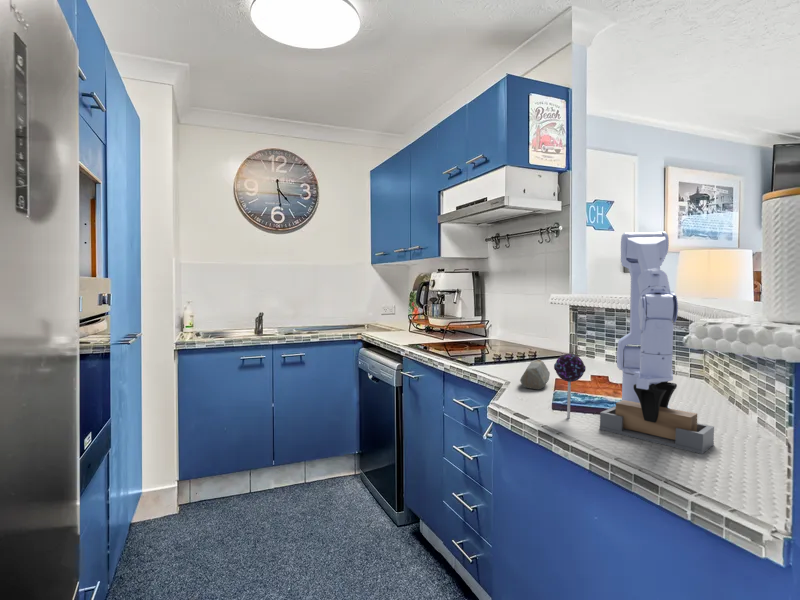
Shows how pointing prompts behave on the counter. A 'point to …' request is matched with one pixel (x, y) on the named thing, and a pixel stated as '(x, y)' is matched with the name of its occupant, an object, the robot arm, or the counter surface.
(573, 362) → the lollipop
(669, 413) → the slat
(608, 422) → the cradle
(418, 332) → the counter surface
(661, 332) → the robot arm
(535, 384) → the stone
